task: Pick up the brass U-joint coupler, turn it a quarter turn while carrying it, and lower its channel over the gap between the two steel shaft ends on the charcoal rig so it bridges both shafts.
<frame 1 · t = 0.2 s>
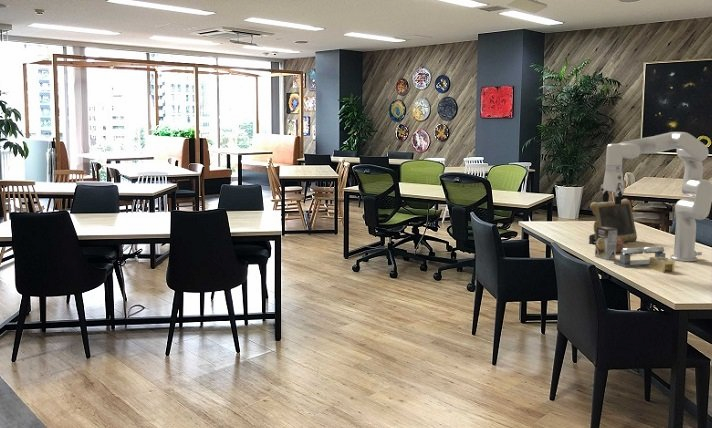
hand: (611, 203, 328), 31 cm above the table, fingers open, 9 cm apart
shaft rig: (642, 264, 331), on the table
coupler: (661, 270, 319), on the table
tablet: (612, 242, 390), on the table
coffee box: (605, 258, 346), on the table
decorative rock: (612, 251, 363), on the table
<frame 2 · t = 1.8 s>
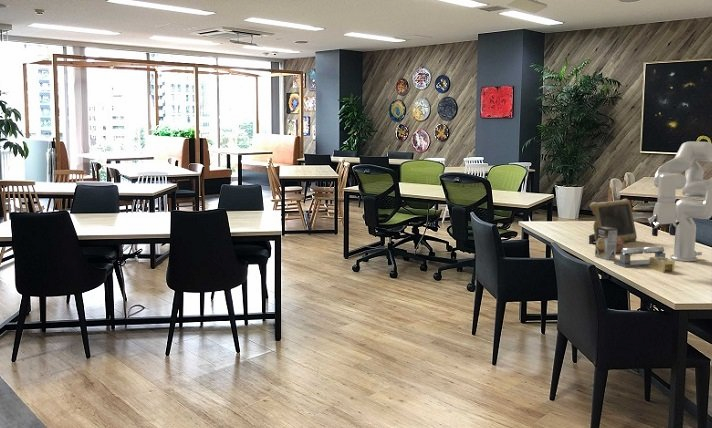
hand: (663, 235, 316), 17 cm above the table, fingers open, 9 cm apart
nothing on the table moved.
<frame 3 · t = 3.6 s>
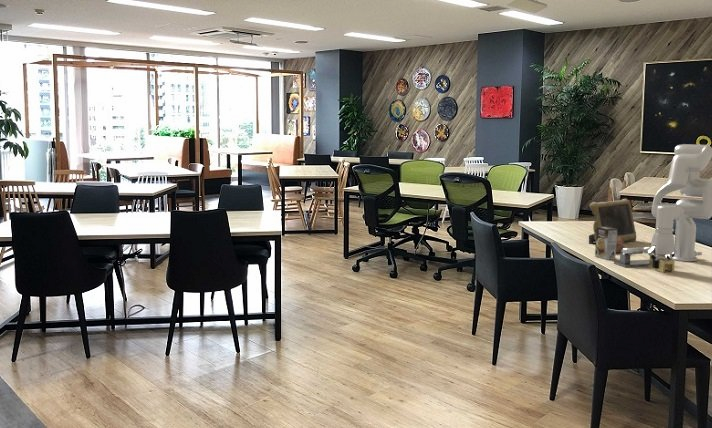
hand: (661, 267, 319), 1 cm above the table, fingers closed on coupler, 6 cm apart
coupler: (661, 270, 319), on the table, touching gripper
everything else where it was.
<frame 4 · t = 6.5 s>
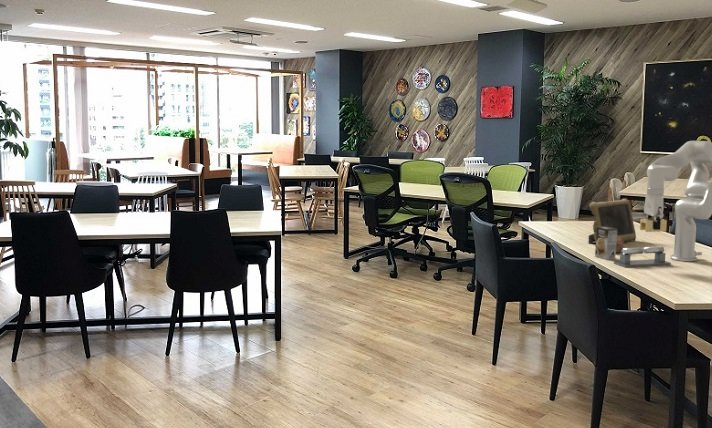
hand: (652, 228, 323), 19 cm above the table, fingers closed on coupler, 6 cm apart
coupler: (652, 230, 323), point 18 cm above the table, touching gripper
everything else where it was.
when the fingers open (6 cm above the table, at t = 9.5 s): coupler stays where it is, resting on shaft rig.
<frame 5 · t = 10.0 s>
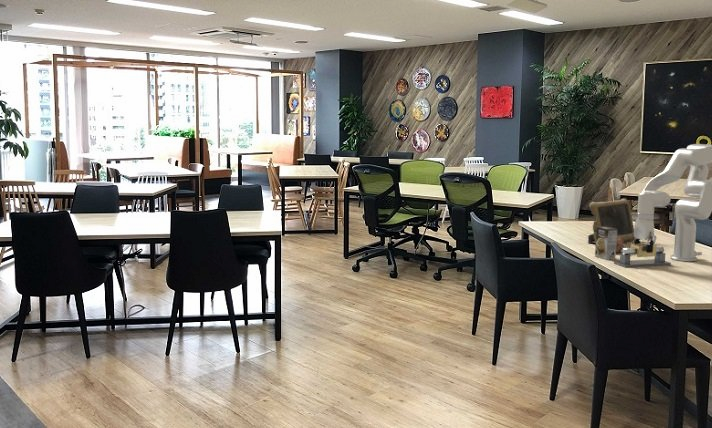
hand: (643, 250, 330), 7 cm above the table, fingers open, 9 cm apart
coupler: (642, 255, 330), point 4 cm above the table, touching shaft rig
everything else where it was.
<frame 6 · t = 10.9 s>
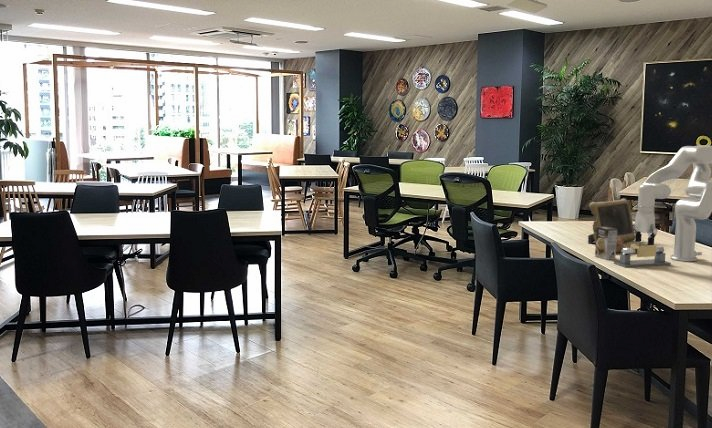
hand: (644, 243, 330), 11 cm above the table, fingers open, 9 cm apart
nothing on the table moved.
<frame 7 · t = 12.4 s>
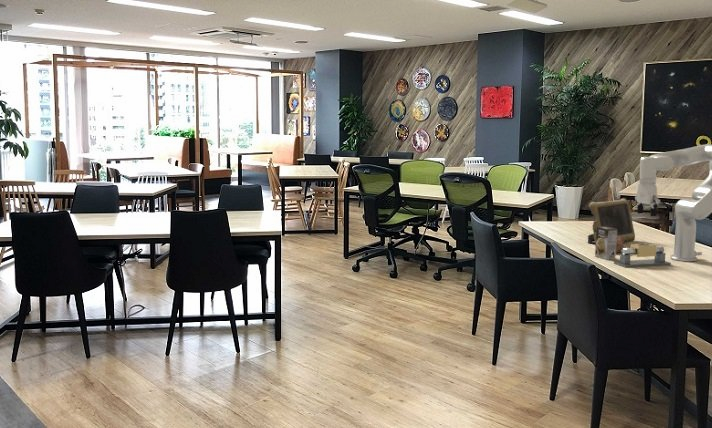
hand: (646, 214, 335), 24 cm above the table, fingers open, 9 cm apart
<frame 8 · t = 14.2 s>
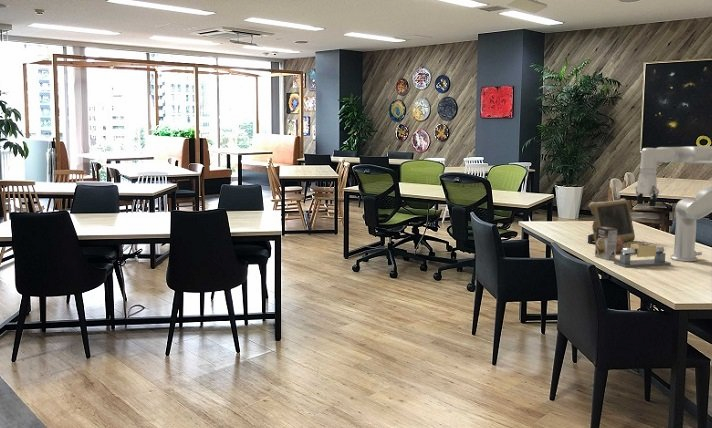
hand: (646, 205, 341), 28 cm above the table, fingers open, 9 cm apart
at the end: coupler 0.0 cm off-centre on the shaft rig, point 4.5 cm above the shaft rig's base; coupler tilted 0°; the gripper is holding nothing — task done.
